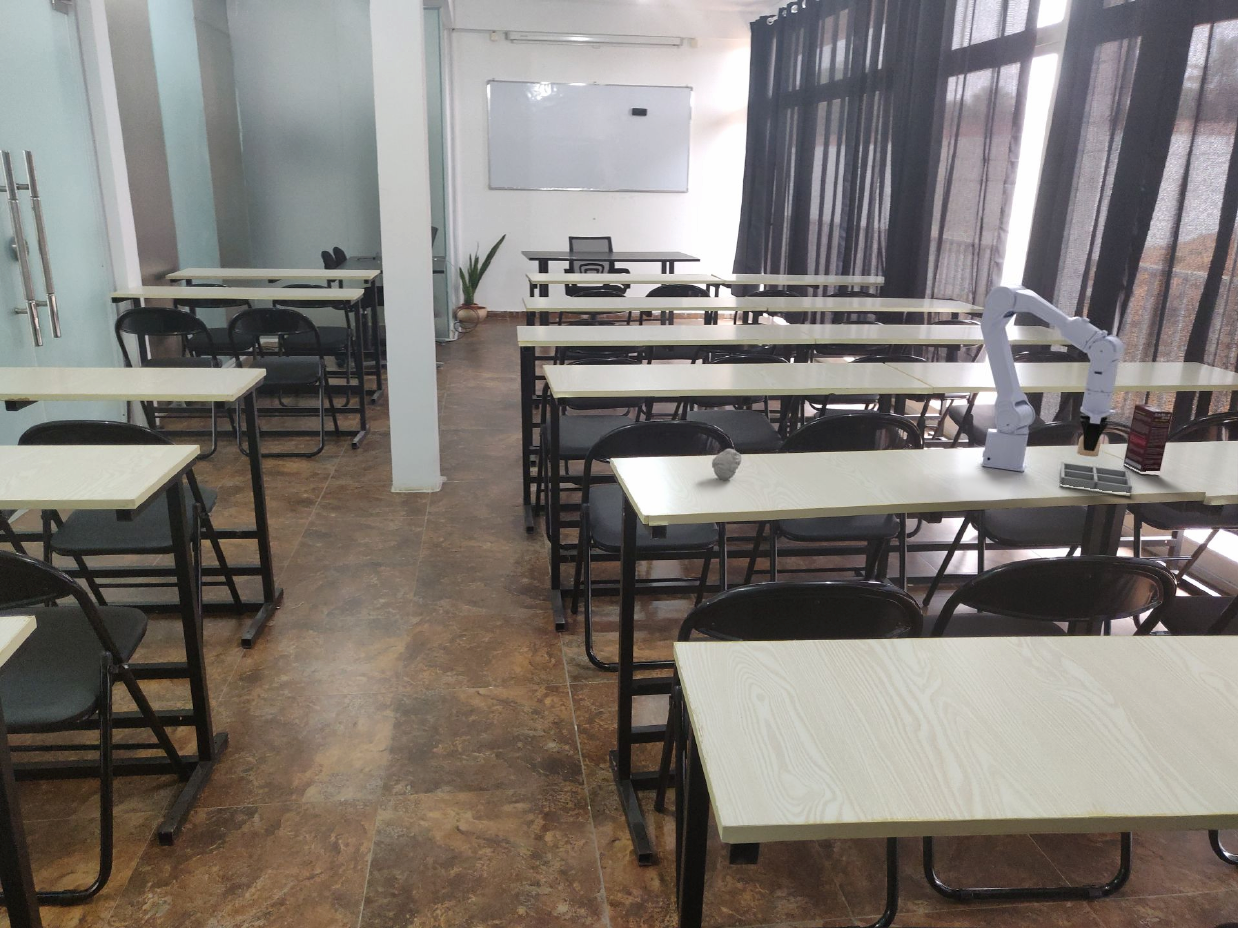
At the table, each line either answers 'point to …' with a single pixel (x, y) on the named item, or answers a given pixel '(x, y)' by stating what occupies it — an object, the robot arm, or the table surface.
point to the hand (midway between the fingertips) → (1088, 448)
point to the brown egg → (1085, 452)
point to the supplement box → (1147, 437)
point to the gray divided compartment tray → (1095, 478)
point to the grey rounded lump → (726, 464)
